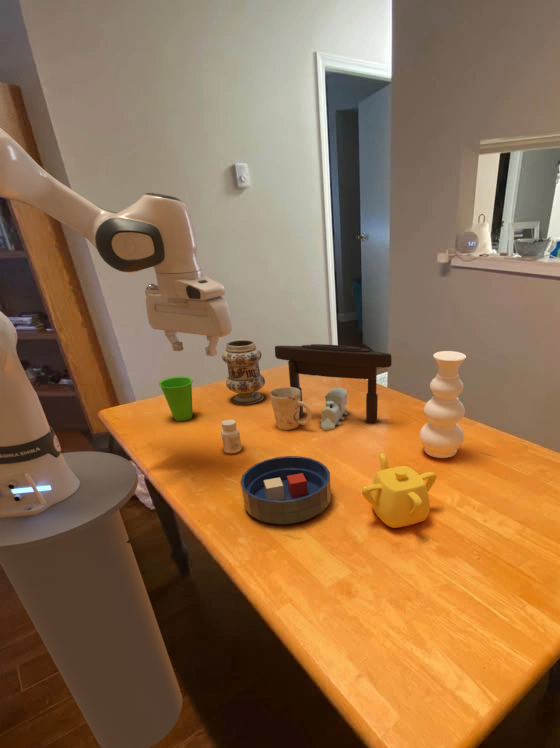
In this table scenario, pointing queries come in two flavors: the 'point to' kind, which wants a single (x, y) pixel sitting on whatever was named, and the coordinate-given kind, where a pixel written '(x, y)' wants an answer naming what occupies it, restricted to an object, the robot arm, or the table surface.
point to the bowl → (286, 490)
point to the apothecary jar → (243, 371)
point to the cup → (178, 396)
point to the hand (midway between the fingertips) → (194, 352)
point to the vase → (444, 408)
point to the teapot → (399, 494)
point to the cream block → (274, 489)
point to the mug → (288, 407)
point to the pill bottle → (230, 437)
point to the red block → (297, 485)
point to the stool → (335, 374)
